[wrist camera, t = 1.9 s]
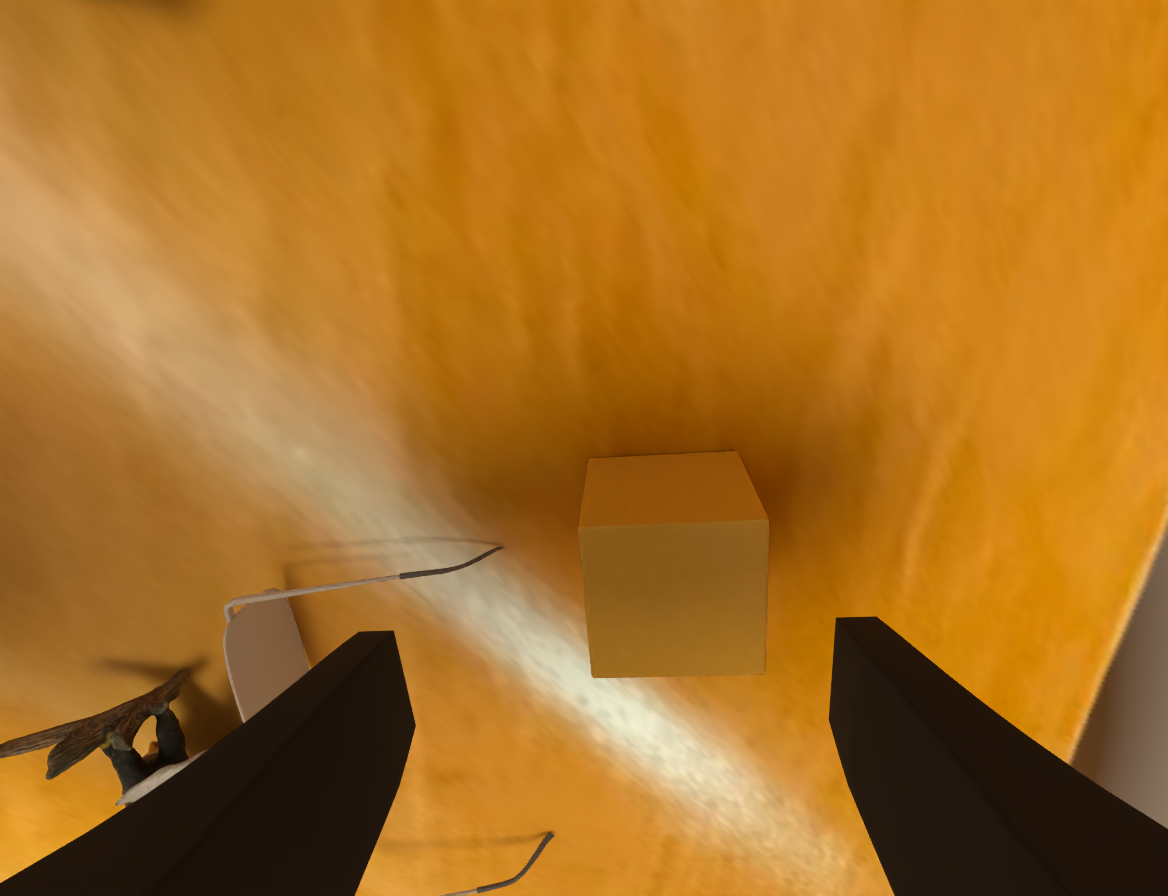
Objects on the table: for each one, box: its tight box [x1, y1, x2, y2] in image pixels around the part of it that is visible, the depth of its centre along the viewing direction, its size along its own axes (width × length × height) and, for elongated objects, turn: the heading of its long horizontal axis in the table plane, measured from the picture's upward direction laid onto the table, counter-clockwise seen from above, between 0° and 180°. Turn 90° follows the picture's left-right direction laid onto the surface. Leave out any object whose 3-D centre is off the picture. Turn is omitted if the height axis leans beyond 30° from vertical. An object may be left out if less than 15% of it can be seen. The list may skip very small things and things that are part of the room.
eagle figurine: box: [0, 669, 207, 807], centre depth 22 cm, size 8×7×9 cm
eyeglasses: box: [223, 547, 555, 896], centre depth 21 cm, size 14×8×4 cm, turn 6°
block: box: [578, 451, 770, 678], centre depth 17 cm, size 4×4×4 cm
